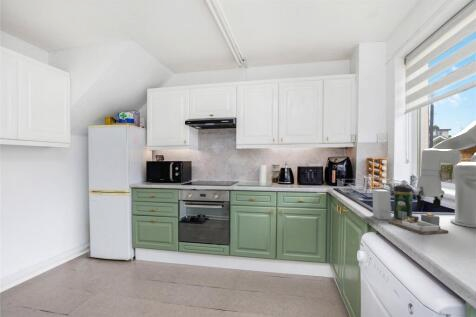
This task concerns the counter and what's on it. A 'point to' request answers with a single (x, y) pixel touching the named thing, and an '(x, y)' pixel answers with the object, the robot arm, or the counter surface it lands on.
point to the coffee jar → (402, 201)
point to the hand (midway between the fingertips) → (428, 207)
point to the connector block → (430, 218)
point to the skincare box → (381, 204)
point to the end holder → (427, 225)
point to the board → (413, 220)
